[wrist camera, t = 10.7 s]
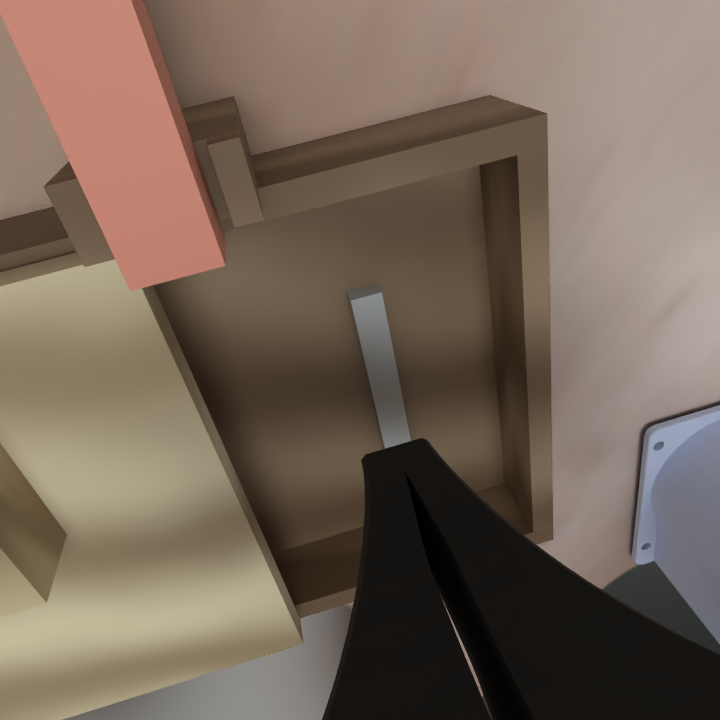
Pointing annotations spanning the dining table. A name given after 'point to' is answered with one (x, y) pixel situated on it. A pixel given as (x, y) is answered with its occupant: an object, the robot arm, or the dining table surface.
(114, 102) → the pink bar
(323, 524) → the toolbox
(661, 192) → the dining table surface
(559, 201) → the dining table surface
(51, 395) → the lid
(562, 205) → the dining table surface
